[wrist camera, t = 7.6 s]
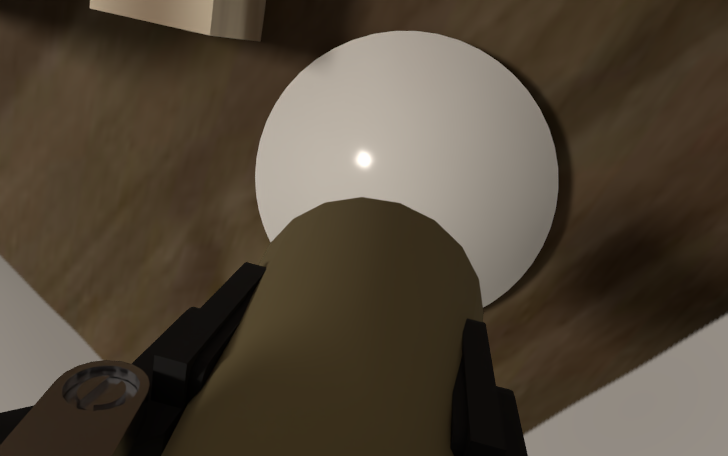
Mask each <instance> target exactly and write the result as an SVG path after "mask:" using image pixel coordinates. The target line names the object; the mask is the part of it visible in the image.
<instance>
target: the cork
mask: <svg viewBox="0 0 728 456" xmlns="http://www.w3.org/2000/svg"><path fill="white" fill-rule="evenodd" d="M259 266H263V267H266V271H265V273H264V274H263V276H262V278H261V279H260V281H259V283H258V284H257V286H256V288H255V290H254V293H253V295H252V297H251V299H250V302H249V304H248V306H247V308H246V311H245V313H244V315H243V318H242V320H241V322H240V324H239V325H238V327H237V329H236V330H235V332H234V334H233V336H232V337H231V339H230V341H229V343H228V344H227V346H226V348H225V349H224V351H223V353H222V355H221V356H220V358H219V360H218V361H217V363H216V365H215V367H214V368H213V370H212V372H211V374H210V375H209V377H208V379H207V380H206V382H205V384H204V386H203V387H202V389H201V391H200V392H199V393H198V394H197V395H196V396H195V397H194V398H193V399H192V400H191V401H190V402H188V404H187V406H186V408H185V410H184V412H183V414H182V416H181V418H180V420H179V422H178V424H177V426H176V428H175V430H174V432H173V434H172V436H171V438H170V440H169V441H168V443H167V445H166V447H165V449H164V451H163V453H162V455H161V456H454V455H453V453H452V451H451V449H450V443H451V418H452V394H453V389H454V385H455V381H456V377H457V373H458V369H459V366H460V362H461V358H462V337H463V329H464V326H465V322H466V319H467V318H468V319H472V320H476V321H480V322H483V314H484V312H483V305H482V297H481V290H480V283H479V278H478V276H477V274H476V272H475V270H474V268H473V266H472V265H471V263H470V261H469V259H468V257H467V255H466V253H465V251H464V249H463V247H462V246H461V245H460V244H459V243H458V242H457V241H456V240H455V239H454V238H453V237H452V236H451V235H450V234H449V233H448V232H447V231H445V230H444V229H443V228H442V227H441V226H440V225H439V224H438V223H437V222H436V221H435V220H433V219H431V218H429V217H427V216H425V215H423V214H421V213H419V212H417V211H415V210H413V209H411V208H409V207H407V206H405V205H403V204H401V203H397V202H391V201H384V200H378V199H372V198H365V197H358V198H352V199H345V200H338V201H332V202H325V203H323V204H321V205H319V206H317V207H315V208H313V209H311V210H309V211H307V212H305V213H304V214H302V215H300V216H298V217H296V218H294V219H292V221H291V222H290V223H289V224H288V225H287V226H286V227H285V228H284V229H283V230H282V231H281V232H280V233H279V234H278V235H277V236H276V237H275V239H274V240H273V241H272V242H271V243H270V244H269V246H268V248H267V250H266V252H265V254H264V256H263V258H262V260H261V262H260V264H259Z"/></svg>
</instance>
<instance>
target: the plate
mask: <svg viewBox="0 0 728 456" xmlns="http://www.w3.org/2000/svg"><path fill="white" fill-rule="evenodd" d="M255 181H256V196H257V202H258V207H259V212H260V216H261V219H262V222H263V225H264V228H265V231H266V233H267V236H268V238H269V240H270V242H272V241H273V240H274V239H275V237H276V236H277V235H278V234H279V233H280V232H281V231H282V230H283V229H284V228H285V227H286V226H287V225H288V224H289V223H290V222H291V221H292V219H294V218H296V217H298V216H300V215H302V214H304V213H305V212H307V211H309V210H311V209H313V208H315V207H317V206H319V205H321V204H323V203H325V202H332V201H338V200H345V199H352V198H358V197H365V198H372V199H378V200H384V201H391V202H397V203H401V204H403V205H405V206H407V207H409V208H411V209H413V210H415V211H417V212H419V213H421V214H423V215H425V216H427V217H429V218H431V219H433V220H435V221H436V222H437V223H438V224H439V225H440V226H441V227H442V228H443V229H444V230H445V231H447V232H448V233H449V234H450V235H451V236H452V237H453V238H454V239H455V240H456V241H457V242H458V243H459V244H460V245H461V246H462V247H463V249H464V251H465V253H466V255H467V257H468V259H469V261H470V263H471V265H472V266H473V268H474V270H475V272H476V274H477V276H478V278H479V283H480V290H481V297H482V305H483V307H485V306H487V305H489V304H490V303H492V302H493V301H495V300H496V299H497V298H499V297H500V296H501V295H503V294H504V293H505V292H507V291H508V290H509V289H510V288H511V287H512V286H513V285H514V284H515V283H516V282H517V281H518V280H519V279H520V278H521V277H522V276H523V275H524V273H525V272H526V271H527V270H528V268H529V267H530V266H531V265H532V263H533V262H534V260H535V258H536V257H537V255H538V253H539V252H540V250H541V248H542V247H543V245H544V242H545V240H546V238H547V235H548V233H549V231H550V228H551V225H552V221H553V217H554V214H555V210H556V204H557V196H558V164H557V158H556V151H555V146H554V143H553V140H552V136H551V133H550V130H549V127H548V125H547V123H546V121H545V119H544V116H543V114H542V112H541V110H540V108H539V107H538V105H537V104H536V102H535V101H534V99H533V97H532V96H531V94H530V93H529V91H528V90H527V89H526V88H525V87H524V86H523V85H522V83H521V82H520V81H519V80H518V79H517V78H516V77H515V75H514V74H512V73H511V72H510V71H509V70H508V69H507V68H505V67H504V66H503V65H502V64H501V63H499V62H498V61H497V60H495V59H494V58H492V57H491V56H489V55H488V54H486V53H484V52H483V51H481V50H480V49H478V48H475V47H473V46H471V45H469V44H466V43H464V42H462V41H460V40H457V39H453V38H450V37H446V36H443V35H439V34H434V33H427V32H420V31H392V32H384V33H377V34H372V35H368V36H365V37H361V38H358V39H354V40H352V41H349V42H347V43H345V44H343V45H340V46H338V47H336V48H334V49H332V50H330V51H329V52H327V53H326V54H324V55H322V56H321V57H319V58H317V59H316V60H315V61H314V62H312V63H311V64H310V65H309V66H308V67H306V68H305V69H304V70H303V71H301V72H300V73H299V74H298V76H297V77H296V78H295V79H294V80H293V81H292V82H291V83H290V84H289V85H288V87H287V88H286V89H285V91H284V92H283V94H282V95H281V96H280V98H279V99H278V101H277V102H276V104H275V106H274V108H273V110H272V112H271V114H270V116H269V118H268V119H267V122H266V125H265V127H264V130H263V133H262V136H261V139H260V144H259V148H258V153H257V159H256V173H255Z"/></svg>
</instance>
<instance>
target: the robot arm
mask: <svg viewBox="0 0 728 456" xmlns="http://www.w3.org/2000/svg"><path fill="white" fill-rule="evenodd" d="M265 271H266V267H263V266H259V265H255V264H251V263H247V262H246V263H244V264H243V265H242V266H241V267H240V268H239V269H238V270H237V271H236V272H235V273H234V274H233V275H232V276H231V277H230V278H229V280H228V281H227V282H226V283H225V284H224V285H223V286H222V287H221V288H220V289H219V290H218V291H217V292H216V293H215V294H214V295H213V296H212V297H211V298H210V299H209V300H208V301H207V302H206V303H205V304H204V305H203V306H202V307H201V308H196V307H191V308H189V309H188V310H187V311H186V312H185V313H183V314H182V315H181V316H180V317H179V318H178V319H177V320H176V321H175V322H174V323H173V324H172V325H171V326H170V327H169V328H168V329H167V330H166V331H165V332H164V333H163V334H162V335H161V336H160V337H159V338H158V339H157V340H156V341H155V342H154V343H153V344H152V345H151V346H150V347H149V348H147V349H146V350H145V351H144V352H143V353H142V354H141V355H140V356H139V357H138V358H137V359H136V360H135V361H134V362H133V363H132V364H130V363H126V362H122V361H111V360H104V361H95V362H90V363H86V364H83V365H79V366H77V367H75V368H73V369H71V370H69V371H67V372H65V373H64V374H63V375H62V376H60V377H59V378H58V379H57V380H56V381H55V382H54V383H53V384H52V386H51V387H50V388H49V389H48V390H47V391H46V392H45V394H44V395H43V396H42V397H41V398H40V399H39V401H38V402H37V403H36V404H35V405H34V406H30V407H25V408H21V409H17V410H11V411H7V412H2V413H0V456H161V455H162V453H163V451H164V449H165V447H166V445H167V443H168V441H169V440H170V438H171V436H172V434H173V432H174V430H175V428H176V426H177V424H178V422H179V420H180V418H181V416H182V414H183V412H184V410H185V408H186V406H187V404H188V402H190V401H191V400H192V399H193V398H194V397H195V396H196V395H197V394H198V393H199V392H200V391H201V389H202V387H203V386H204V384H205V382H206V380H207V379H208V377H209V375H210V374H211V372H212V370H213V368H214V367H215V365H216V363H217V361H218V360H219V358H220V356H221V355H222V353H223V351H224V349H225V348H226V346H227V344H228V343H229V341H230V339H231V337H232V336H233V334H234V332H235V330H236V329H237V327H238V325H239V324H240V322H241V320H242V318H243V315H244V313H245V311H246V308H247V306H248V304H249V302H250V299H251V297H252V295H253V293H254V290H255V288H256V286H257V284H258V283H259V281H260V279H261V278H262V276H263V274H264V273H265ZM450 449H451V451H452V453H453V455H454V456H528V455H527V451H526V446H525V442H524V437H523V432H522V428H521V423H520V419H519V414H518V409H517V405H516V400H515V396H514V393H513V391H512V390H509V389H505V388H502V387H498V386H496V384H495V378H494V372H493V366H492V360H491V354H490V348H489V342H488V336H487V330H486V324H485V323H484V322H480V321H476V320H472V319H468V318H467V319H466V322H465V326H464V329H463V337H462V358H461V362H460V366H459V369H458V373H457V377H456V381H455V385H454V389H453V394H452V418H451V443H450Z"/></svg>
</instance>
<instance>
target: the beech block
mask: <svg viewBox="0 0 728 456" xmlns="http://www.w3.org/2000/svg"><path fill="white" fill-rule="evenodd" d="M265 5H266V0H90V9H95V10H99V11H103V12H108V13H112V14H117V15H121V16H126V17H130V18H134V19H139V20H143V21H148V22H152V23H157V24H161V25H165V26H170V27H174V28H179V29H183V30H187V31H192V32H196V33H201V34H205V35H210V36H218V37H226V38H234V39H243V40H251V41H259V42H261V35H262V27H263V20H264V13H265Z"/></svg>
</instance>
